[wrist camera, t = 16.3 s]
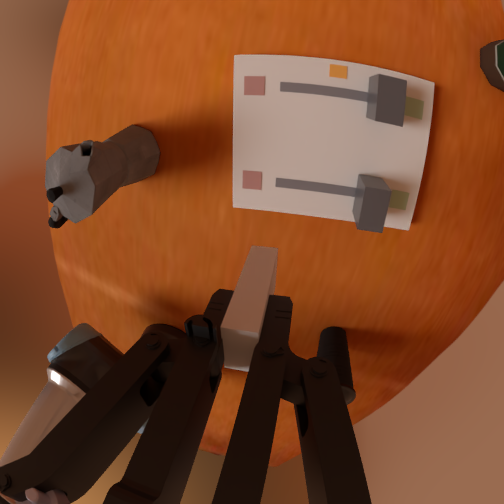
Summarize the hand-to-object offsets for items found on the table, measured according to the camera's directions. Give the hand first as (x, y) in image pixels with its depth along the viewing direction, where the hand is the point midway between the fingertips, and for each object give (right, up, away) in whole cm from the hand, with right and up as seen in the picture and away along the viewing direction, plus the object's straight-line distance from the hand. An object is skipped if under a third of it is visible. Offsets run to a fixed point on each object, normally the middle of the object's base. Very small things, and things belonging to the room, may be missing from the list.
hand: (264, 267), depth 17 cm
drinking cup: (+14, -14, +33) cm, 38 cm away
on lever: (+13, +8, +15) cm, 22 cm away
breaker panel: (+9, +15, +15) cm, 23 cm away
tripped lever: (+14, +18, +9) cm, 24 cm away
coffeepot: (-19, +16, +22) cm, 33 cm away
